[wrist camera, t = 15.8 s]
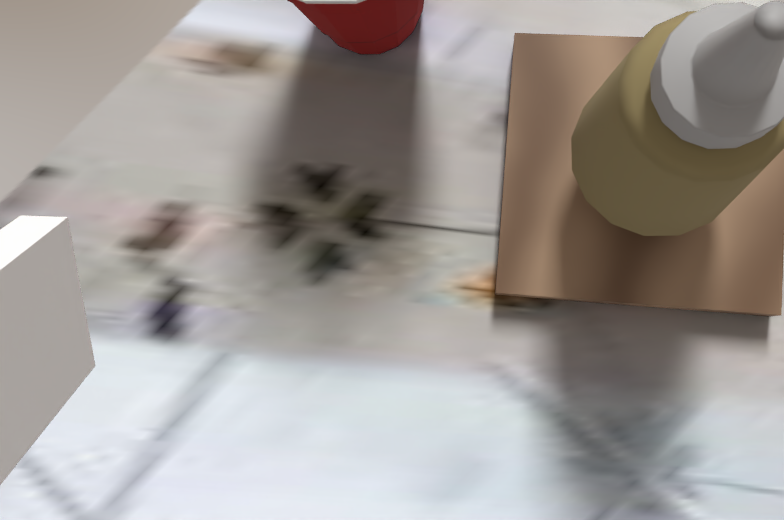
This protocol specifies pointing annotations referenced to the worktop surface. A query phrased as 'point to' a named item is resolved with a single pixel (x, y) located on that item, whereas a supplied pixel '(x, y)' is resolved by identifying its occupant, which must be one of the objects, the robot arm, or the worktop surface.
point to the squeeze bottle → (685, 119)
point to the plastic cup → (363, 22)
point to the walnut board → (595, 233)
